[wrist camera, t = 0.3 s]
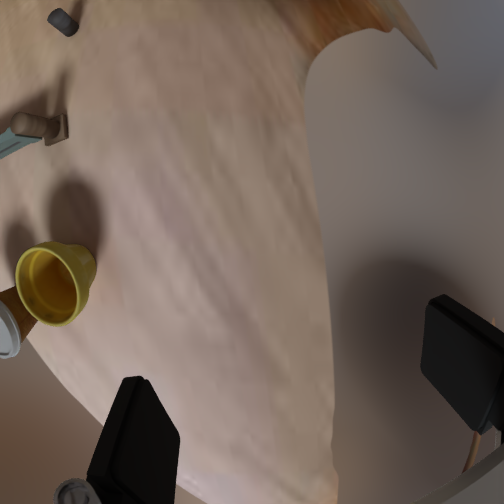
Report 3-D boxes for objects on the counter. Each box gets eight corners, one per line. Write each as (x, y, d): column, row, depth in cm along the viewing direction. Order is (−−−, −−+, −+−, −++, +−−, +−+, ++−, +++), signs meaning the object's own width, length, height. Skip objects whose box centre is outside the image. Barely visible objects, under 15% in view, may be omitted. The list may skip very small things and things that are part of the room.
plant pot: (80, 215, 36) (44, 228, 26) (121, 275, 38) (95, 303, 29) (40, 255, 36) (3, 275, 27) (77, 309, 39) (49, 340, 30)
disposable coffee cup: (12, 310, 38) (-26, 342, 26) (14, 263, 36) (-31, 288, 24) (51, 333, 40) (17, 372, 28) (56, 285, 38) (14, 319, 26)
